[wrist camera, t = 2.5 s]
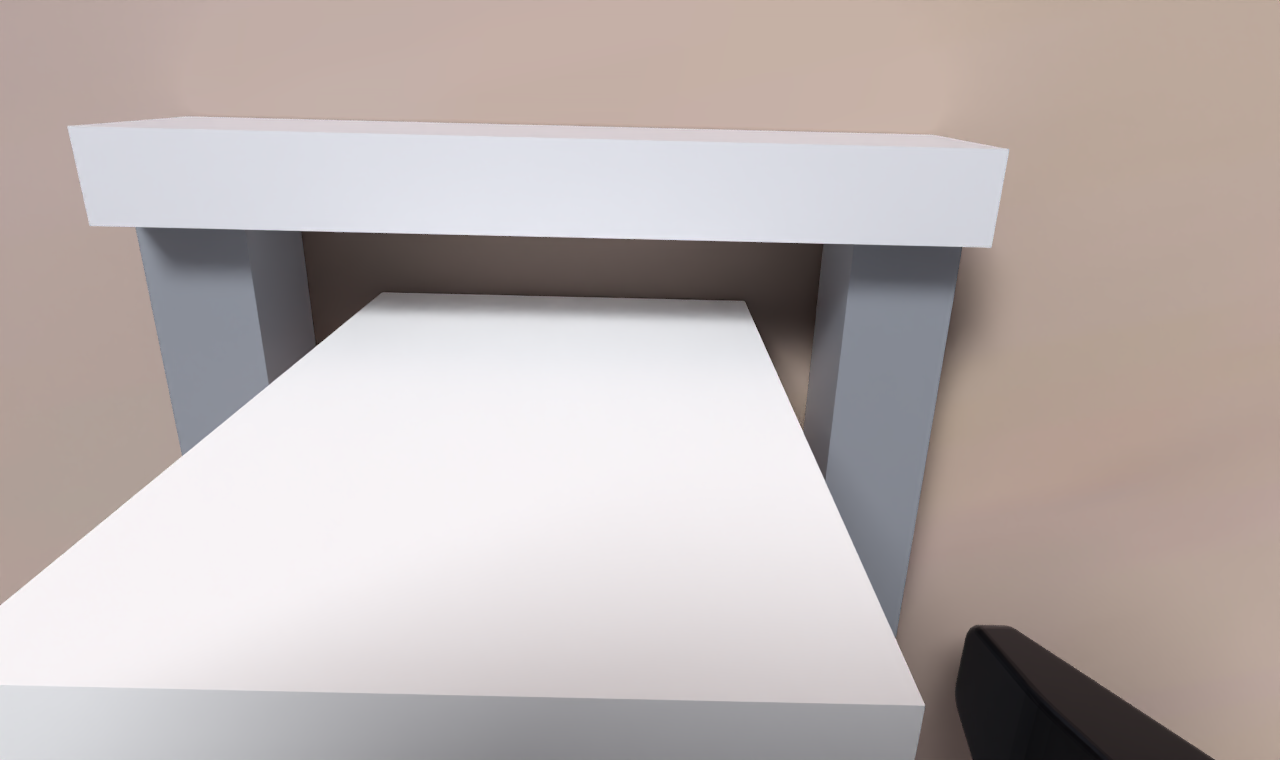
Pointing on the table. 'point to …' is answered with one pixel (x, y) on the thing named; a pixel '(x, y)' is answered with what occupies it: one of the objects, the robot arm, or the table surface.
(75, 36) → the table surface
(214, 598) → the white banded block
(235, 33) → the table surface
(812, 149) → the grey frame stand
